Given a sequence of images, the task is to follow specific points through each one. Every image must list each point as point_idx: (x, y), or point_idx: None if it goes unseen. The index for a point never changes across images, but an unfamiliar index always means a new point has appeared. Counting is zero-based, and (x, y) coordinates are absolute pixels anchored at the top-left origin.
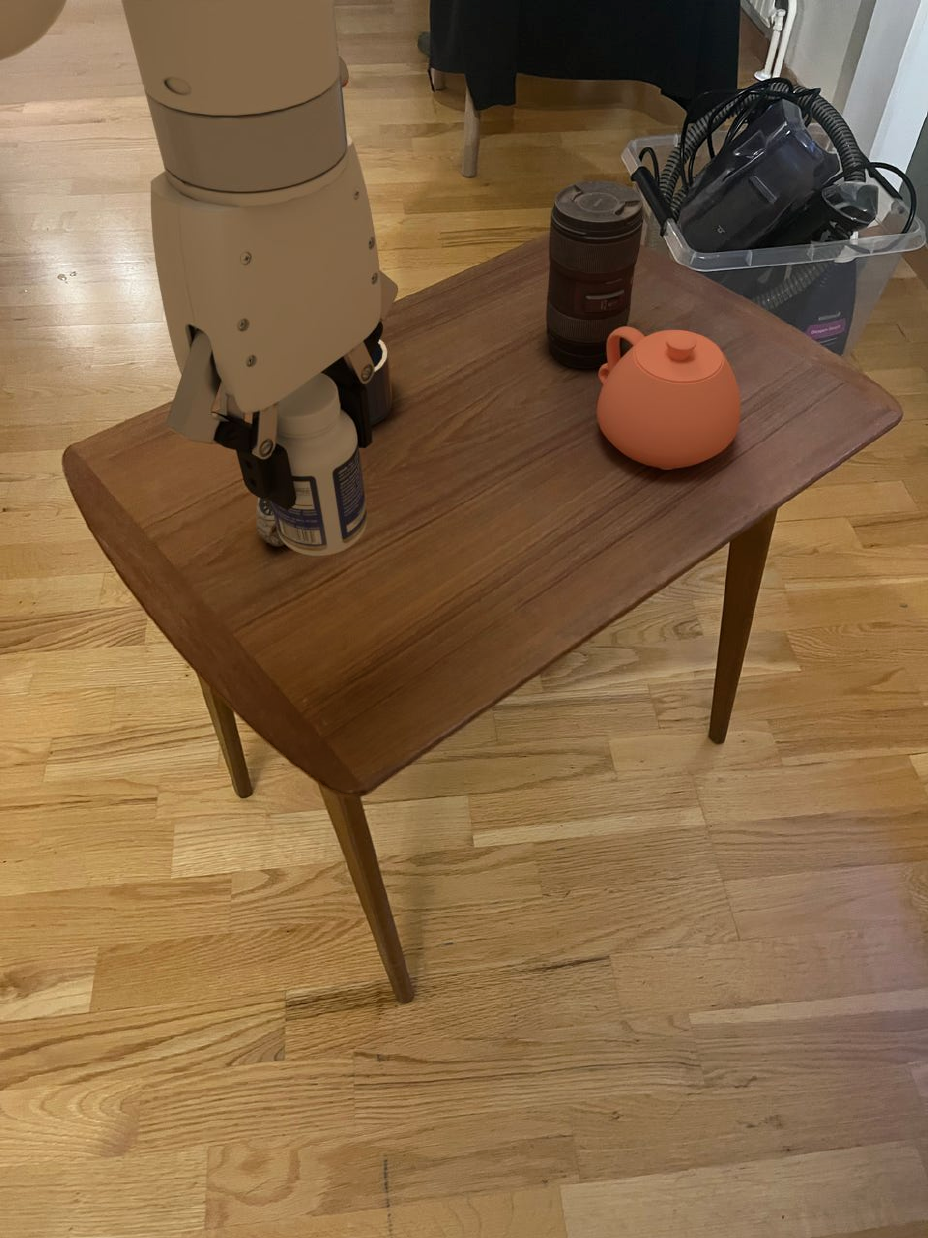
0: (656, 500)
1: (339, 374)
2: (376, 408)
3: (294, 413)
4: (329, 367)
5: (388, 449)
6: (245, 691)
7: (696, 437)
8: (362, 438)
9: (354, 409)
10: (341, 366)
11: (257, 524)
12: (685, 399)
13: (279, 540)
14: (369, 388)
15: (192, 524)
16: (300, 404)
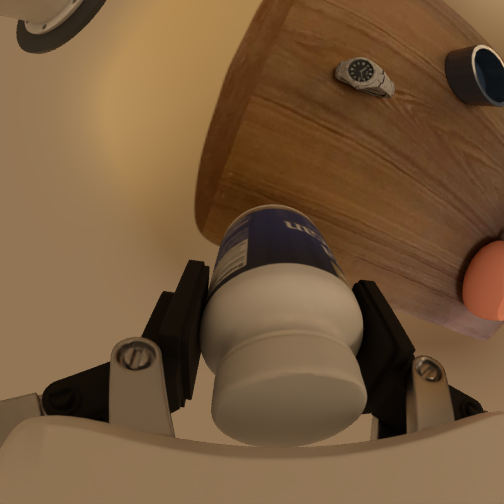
0: (445, 286)
1: (381, 402)
2: (469, 100)
3: (232, 432)
4: (393, 390)
5: (446, 116)
6: (215, 134)
7: (473, 310)
8: None
9: None
10: (392, 408)
11: (341, 63)
12: (489, 311)
13: (343, 78)
14: (479, 98)
15: (323, 14)
16: (261, 429)
